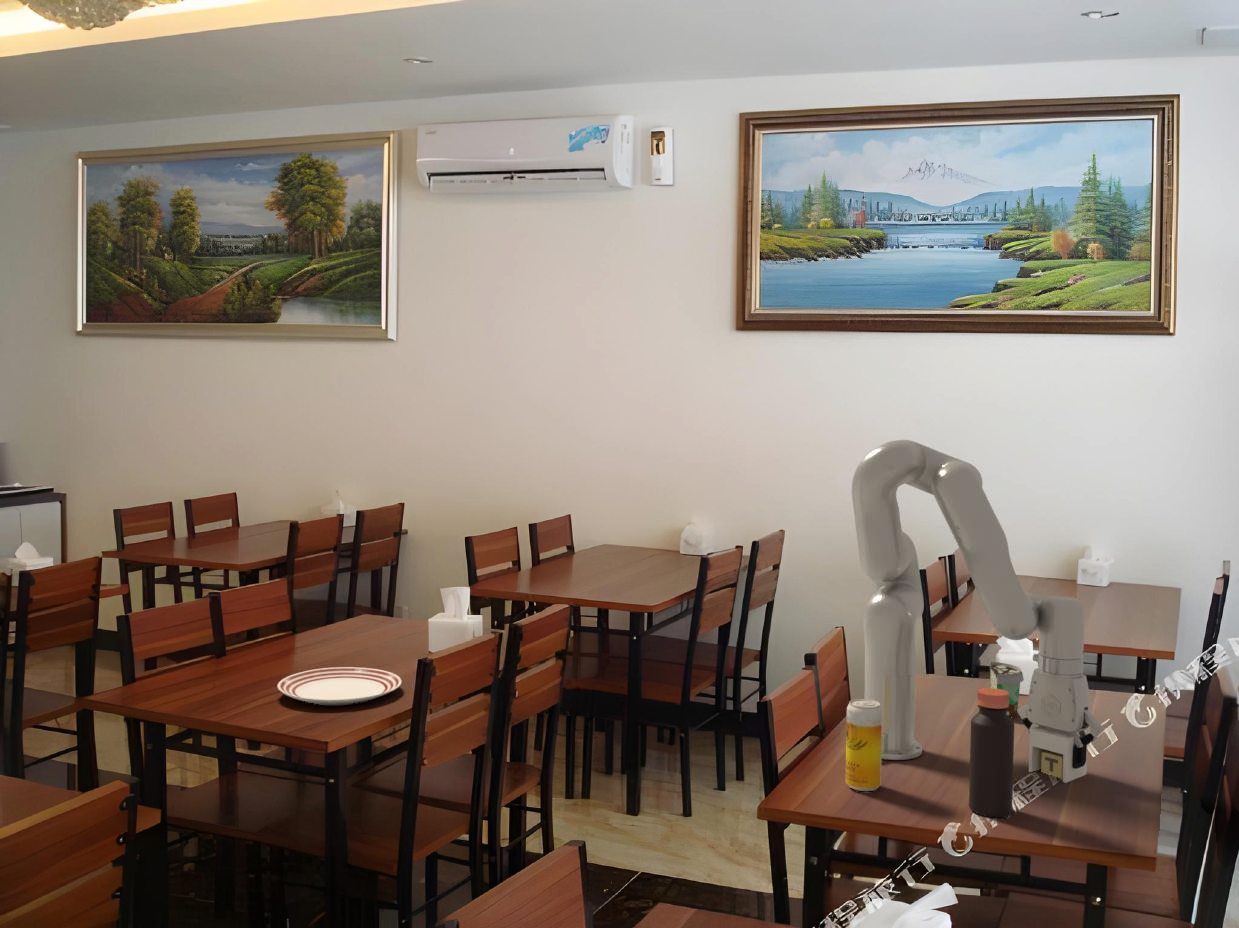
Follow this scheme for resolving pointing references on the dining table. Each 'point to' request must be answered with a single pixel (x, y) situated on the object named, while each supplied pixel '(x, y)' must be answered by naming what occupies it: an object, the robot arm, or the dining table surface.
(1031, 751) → the cover
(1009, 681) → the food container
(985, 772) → the bottle
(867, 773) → the beer can
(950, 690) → the dining table surface
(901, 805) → the dining table surface
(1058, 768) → the letter cube
